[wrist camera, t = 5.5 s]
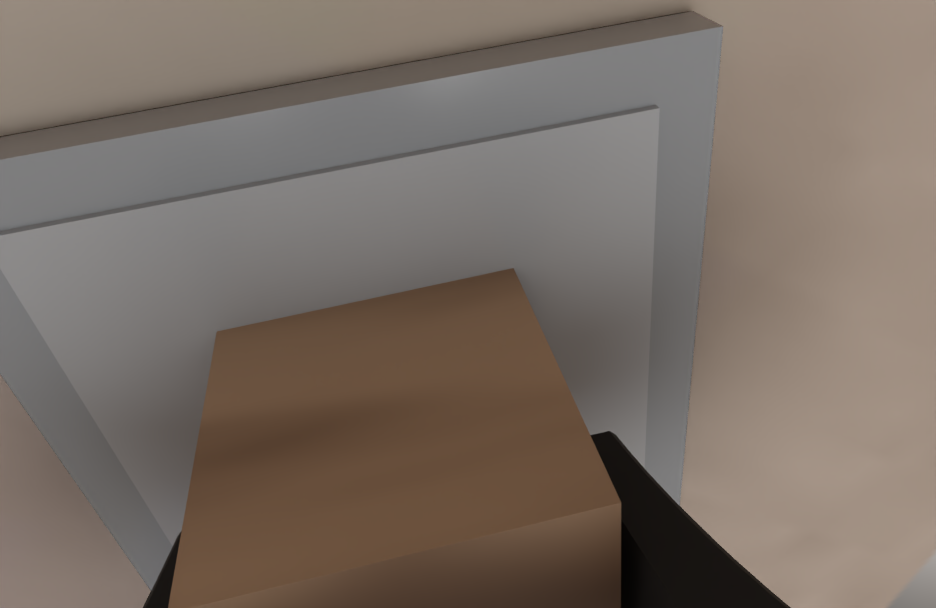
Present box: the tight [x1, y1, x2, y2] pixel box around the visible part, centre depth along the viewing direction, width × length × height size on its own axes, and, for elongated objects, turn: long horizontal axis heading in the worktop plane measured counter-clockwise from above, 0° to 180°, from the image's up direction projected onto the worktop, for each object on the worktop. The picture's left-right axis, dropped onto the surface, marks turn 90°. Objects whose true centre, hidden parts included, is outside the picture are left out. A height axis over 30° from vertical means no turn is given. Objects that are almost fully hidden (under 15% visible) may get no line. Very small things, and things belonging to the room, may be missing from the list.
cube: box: [168, 268, 621, 608], centre depth 11 cm, size 5×5×5 cm
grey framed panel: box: [0, 11, 723, 590], centre depth 14 cm, size 12×12×1 cm
